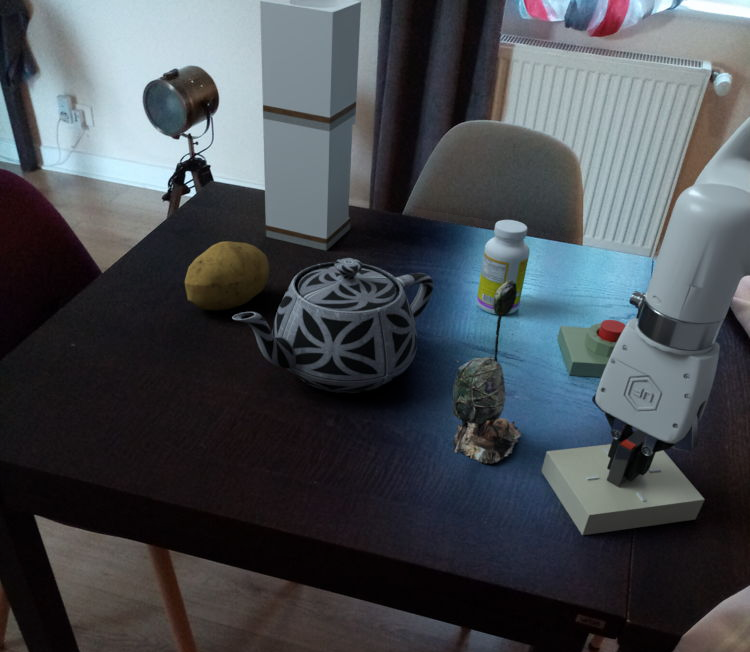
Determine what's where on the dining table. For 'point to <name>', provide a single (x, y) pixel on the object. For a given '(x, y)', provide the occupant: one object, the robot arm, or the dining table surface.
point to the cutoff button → (611, 330)
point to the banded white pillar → (308, 117)
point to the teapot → (344, 326)
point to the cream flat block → (618, 491)
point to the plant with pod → (485, 398)
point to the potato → (226, 276)
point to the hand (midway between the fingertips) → (625, 469)
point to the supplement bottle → (503, 263)
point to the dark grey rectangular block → (625, 457)
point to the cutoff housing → (584, 350)
